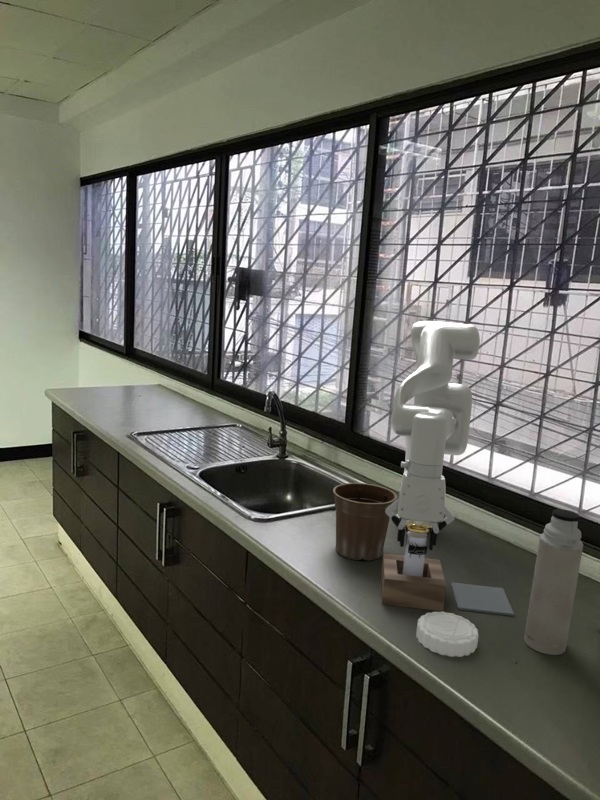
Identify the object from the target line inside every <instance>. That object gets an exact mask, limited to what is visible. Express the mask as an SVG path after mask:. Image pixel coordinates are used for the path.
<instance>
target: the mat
mask: <svg viewBox="0 0 600 800" xmlns="http://www.w3.org/2000/svg"><path fill="white" fill-rule="evenodd" d="M450 585H451V588H452V593H453V597H454V599H455V603H456V608H457V610H458V611H459V610H460V611H468V612H474V613H475V612H476V613H477V612H478V613H485V614H493V615H501V616H502V615H503V616H509V617H514V616H515V613H514V611H513V608H512V605H511V604H510V602H509V601H510V600H509V599H508V597H507V596H508V595H507V594H506V592H505V589H504V588H503V587H498V586H486V585H479V584H478V585H477V584H470V583H469V584H467V583H460V582H451V583H450Z"/></svg>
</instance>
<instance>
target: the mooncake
mask: <svg viewBox="0 0 600 800" xmlns="http://www.w3.org/2000/svg"><path fill="white" fill-rule="evenodd" d="M415 635H416V636H415V637H416V639H417V640H418V641H417V642H418V643H419V644H421V645H422V647H424V648H426V649H429V651H430V652H433V653H437V654H439V655H440V656H447V657H451V658H452V657H453V658H454V657H460V658H462V657H464V656H471V654H473V653H475V651H476V649H478V642H479V630H478V629H477V628H476V625H475V624H474V623H472V622H471V621H470V620H469V619H468V618H464V617H463V616H461V615H457V614H455V613H453V612H447V611H446V612H445V611H444V610H443V611H432V612H427V613H425V614H422V615H421V616H420V617H419V618H418V619H417V623H416V634H415Z"/></svg>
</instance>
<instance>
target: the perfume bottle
mask: <svg viewBox="0 0 600 800" xmlns="http://www.w3.org/2000/svg"><path fill="white" fill-rule="evenodd" d="M405 528H406V529H405V530H407V533H406V537H405V538H406V539H405V546H404V547H405V549H404V555H403V556H404V564H403V573H402V575H409V576H418V577H423V569H424V561H425V558H426V555H427V554H428V548H429V547H428V542H427V541H428V534H429V532H430V531H431V526H430V525H428V524H426V522H422V521H413V520H411V521H410V522H407V523H406V524H405Z"/></svg>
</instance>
